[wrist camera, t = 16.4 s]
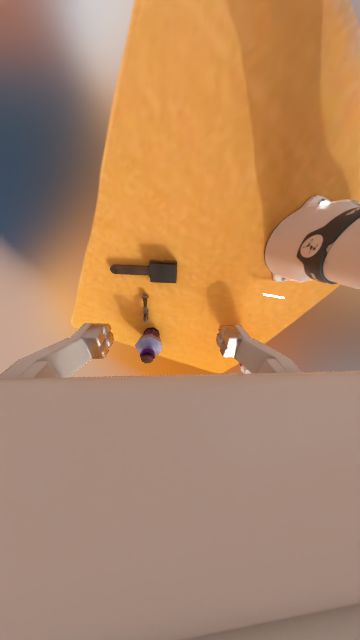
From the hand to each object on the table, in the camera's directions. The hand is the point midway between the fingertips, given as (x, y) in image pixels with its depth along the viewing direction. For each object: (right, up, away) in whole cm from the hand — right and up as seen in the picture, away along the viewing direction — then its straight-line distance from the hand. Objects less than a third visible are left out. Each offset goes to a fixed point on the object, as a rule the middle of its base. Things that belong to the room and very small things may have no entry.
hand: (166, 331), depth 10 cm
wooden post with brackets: (-9, +5, +31) cm, 33 cm away
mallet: (-8, +14, +25) cm, 30 cm away
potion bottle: (-9, -4, +37) cm, 38 cm away
